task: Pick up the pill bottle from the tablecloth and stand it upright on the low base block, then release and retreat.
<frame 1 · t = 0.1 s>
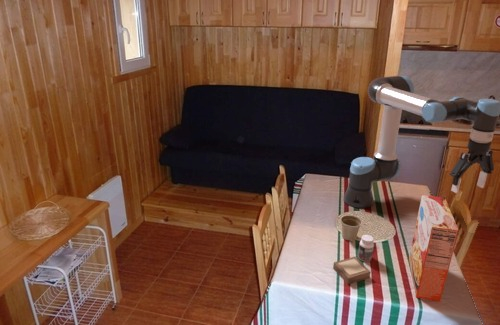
hand: (467, 189, 157), 28 cm above the table, fingers open, 13 cm apart
flower pot: (349, 237, 175), on the table
base block: (351, 273, 152), on the table
pasta box: (423, 279, 149), on the table
pill bottle: (364, 258, 161), on the table
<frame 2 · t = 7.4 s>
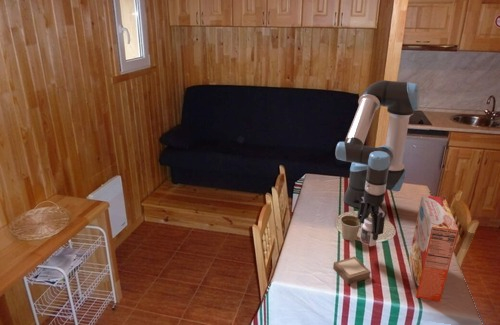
hand: (367, 240, 158), 8 cm above the table, fingers closed on pill bottle, 6 cm apart
pill bottle: (367, 241, 158), point 8 cm above the table, touching gripper
everything else where it was.
when the fingers open (3 cm above the table, at t = 11.9 s): pill bottle stays where it is, resting on base block.
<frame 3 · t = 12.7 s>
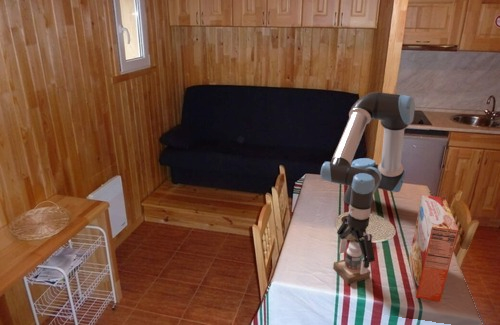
hand: (352, 262, 150), 5 cm above the table, fingers open, 13 cm apart
pill bottle: (352, 267, 151), point 3 cm above the table, touching base block
everything else where it was.
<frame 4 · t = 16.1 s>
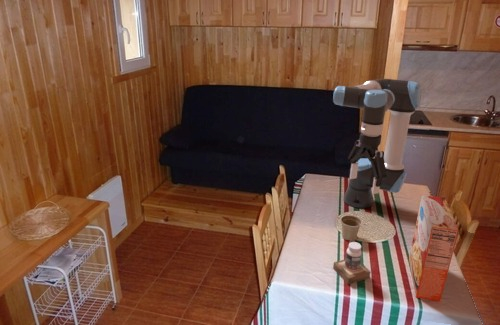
hand: (363, 185, 149), 33 cm above the table, fingers open, 13 cm apart
nothing on the table moved.
at the end: pill bottle inside the target area on the base block (0.1 cm from its centre), point 2.9 cm above the base block's base; pill bottle tilted 0°; the gripper is holding nothing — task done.
